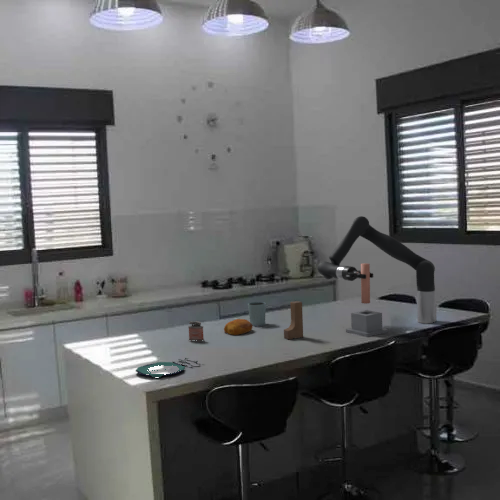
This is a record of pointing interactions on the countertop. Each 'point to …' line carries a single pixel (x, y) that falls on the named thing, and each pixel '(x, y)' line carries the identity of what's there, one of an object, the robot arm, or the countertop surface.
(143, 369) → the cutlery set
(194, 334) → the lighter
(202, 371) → the countertop surface
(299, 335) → the wooden block
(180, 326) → the countertop surface
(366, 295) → the peg
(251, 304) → the drinking glass
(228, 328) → the bread loaf
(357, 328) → the block
